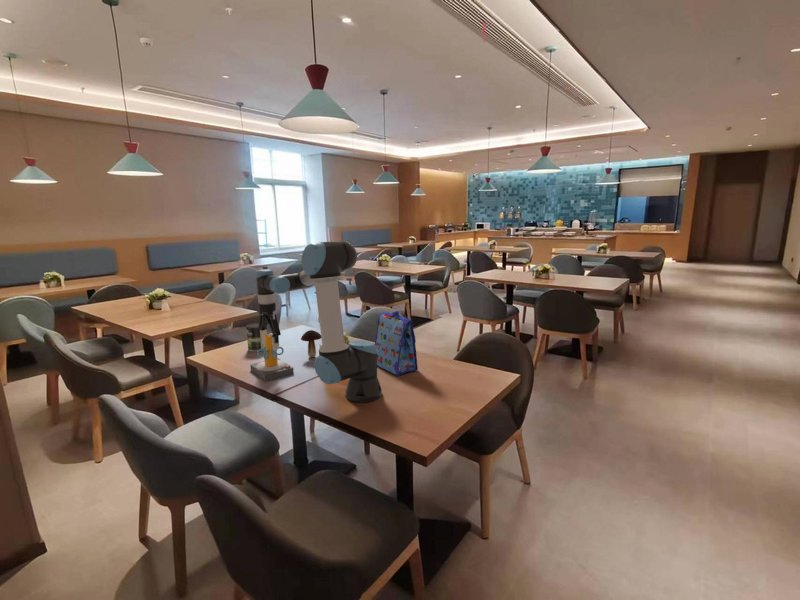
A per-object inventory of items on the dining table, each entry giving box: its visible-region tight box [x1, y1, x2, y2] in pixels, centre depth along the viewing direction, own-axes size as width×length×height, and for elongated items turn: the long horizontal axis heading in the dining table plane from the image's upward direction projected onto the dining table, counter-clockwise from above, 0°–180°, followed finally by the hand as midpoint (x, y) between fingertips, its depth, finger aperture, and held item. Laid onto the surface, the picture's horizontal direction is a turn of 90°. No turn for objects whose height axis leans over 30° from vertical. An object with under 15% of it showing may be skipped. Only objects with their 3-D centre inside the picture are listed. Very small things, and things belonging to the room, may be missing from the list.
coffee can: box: [245, 322, 266, 353], centre depth 226 cm, size 10×10×14 cm
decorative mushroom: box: [300, 329, 322, 358], centre depth 212 cm, size 11×11×15 cm
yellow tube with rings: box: [256, 333, 284, 367], centre depth 191 cm, size 12×10×15 cm
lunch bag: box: [374, 310, 419, 377], centre depth 196 cm, size 22×14×29 cm, turn 37°
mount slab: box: [249, 357, 295, 382], centre depth 193 cm, size 18×14×4 cm
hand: (270, 346), depth 191 cm, fingers open, 13 cm apart
